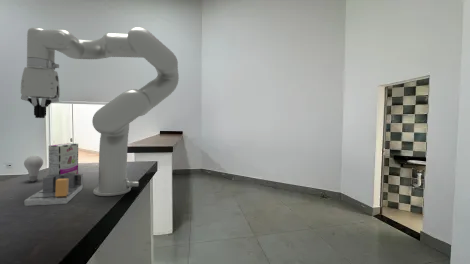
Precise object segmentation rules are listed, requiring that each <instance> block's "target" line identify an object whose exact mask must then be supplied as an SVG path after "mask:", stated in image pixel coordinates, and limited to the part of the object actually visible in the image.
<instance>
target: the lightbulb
mask: <svg viewBox="0 0 470 264" xmlns="http://www.w3.org/2000/svg"><path fill="white" fill-rule="evenodd" d="M43 165H44V160H43V158H42V157H41V156H38V155H30V156H28V157H27V158H25V160H24V162H23V166H24V168H25V169H26V171H27V172H28V176H29V177H28V178H29V182H30V181H31V182H36V181H37V180H38V177H39V174H40V170H41V168H42V167H43Z"/></svg>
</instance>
